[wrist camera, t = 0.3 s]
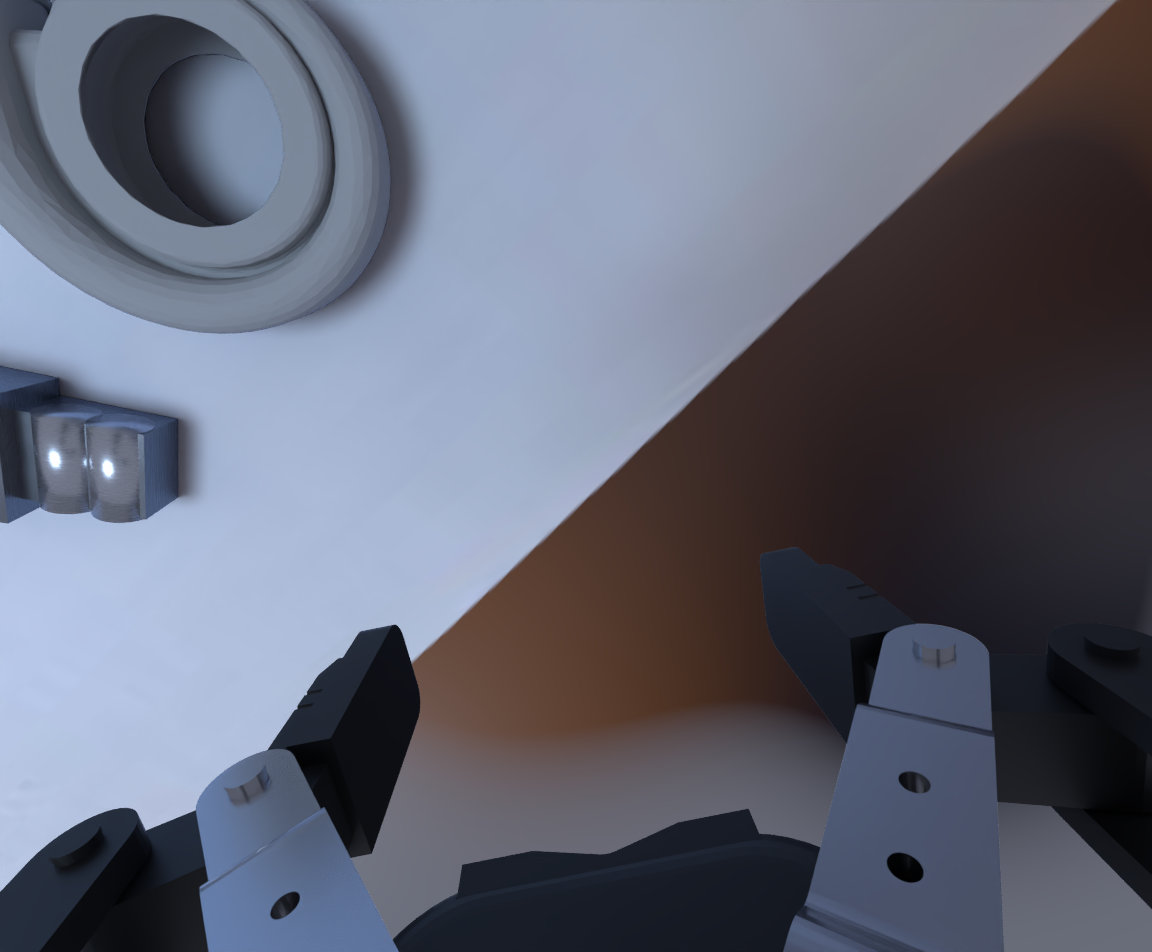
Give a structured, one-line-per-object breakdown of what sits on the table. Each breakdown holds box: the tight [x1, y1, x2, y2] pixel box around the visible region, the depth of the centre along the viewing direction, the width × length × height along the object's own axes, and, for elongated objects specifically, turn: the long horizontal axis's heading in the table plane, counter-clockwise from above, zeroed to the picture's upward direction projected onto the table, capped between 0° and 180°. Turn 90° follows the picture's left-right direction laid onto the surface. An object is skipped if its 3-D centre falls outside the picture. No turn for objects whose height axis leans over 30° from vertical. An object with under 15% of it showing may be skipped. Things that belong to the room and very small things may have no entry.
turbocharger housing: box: [0, 0, 391, 334], centre depth 25 cm, size 17×6×15 cm
